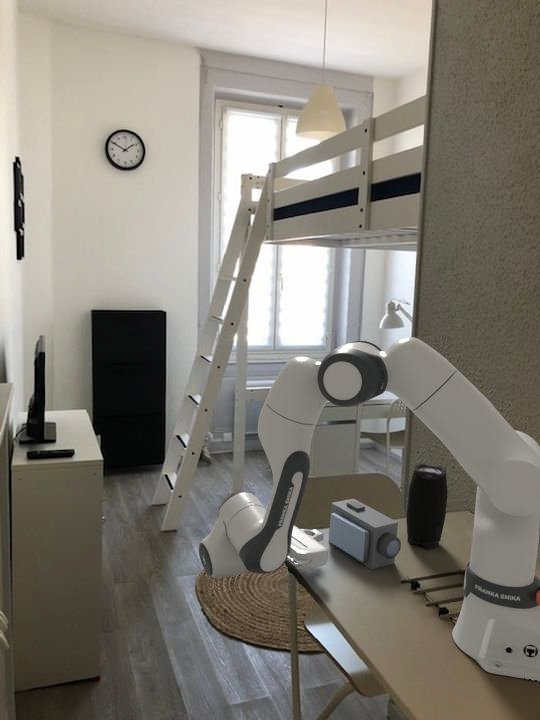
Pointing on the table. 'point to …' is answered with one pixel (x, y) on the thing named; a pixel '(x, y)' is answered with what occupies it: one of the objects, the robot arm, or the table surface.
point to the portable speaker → (426, 505)
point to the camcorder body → (372, 531)
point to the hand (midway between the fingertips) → (319, 534)
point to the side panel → (349, 537)
